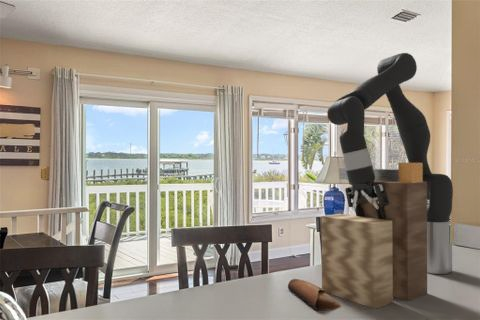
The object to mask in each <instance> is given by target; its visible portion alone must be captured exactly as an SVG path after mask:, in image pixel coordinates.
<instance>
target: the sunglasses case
mask: <svg viewBox="0 0 480 320" xmlns="http://www.w3.org/2000/svg"><path fill="white" fill-rule="evenodd" d="M287 288H288V290H289V291H290V292H292V293H294V294H295V295H298V296H299V297H300V298H301V299H303V300H304V302H306V303H307V304H309V306H311V307H312V308H314V309H315V310H316V311H317V312H320V311H327V310H333V309H339V308H342V305H341V304H340V303H339V302H338V301H337V300H335V299H334V298H333V297H332V296H331V295H330V294H329V293H326V292H324V290H323V289H322V287H320V286H318V285H315V284H314V283H312V282H309V281H307V280H303V279H298V278H293V279H291V280H289V282H288V285H287Z"/></svg>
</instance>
